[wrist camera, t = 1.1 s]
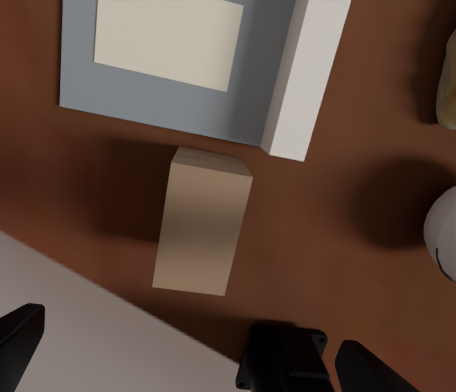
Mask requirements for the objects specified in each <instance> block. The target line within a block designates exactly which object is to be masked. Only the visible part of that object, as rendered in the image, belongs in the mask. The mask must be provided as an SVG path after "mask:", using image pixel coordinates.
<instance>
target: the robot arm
mask: <svg viewBox="0 0 456 392" xmlns="http://www.w3.org/2000/svg"><path fill="white" fill-rule="evenodd" d="M44 324H45V307H44V306H43V305H41V304H32V303H28V304H25V305H23V306H21V307H20V308H18V309H16V310H14V311H12V312H10V313H8V314H6V315H5V316H3V317H1V318H0V392H14V391H15V389H16V387H17V385H18V383H19V382H20V380H21V378H22V375H23V373H24V372H25V370H26V367H27V366H28V364H29V362H30V360H31V358H32V356H33V354H34V352H35V350H36V348H37V345H38V344H39V342H40V340H41V338H42V335H43V333H44ZM255 331H258V332H255ZM320 338H321V339H320ZM327 341H328V338H327V336H326V334H325V333H324V332H321V331H312V330H303V329H294V328H285V327H276V326H267V325H253V326H252V327H251V328H250V331H249V335H248V338H247V342H246V345H245V349H244V352H243V356H242V359H241V363H240V366H239V370H238V373H237V376H236V381H235V382H236V387H237V388H238V389H245V390H251V392H335V390H334V388H333V386H332V384H331V382H330V379H329V378H330V375H329V373H328V371H327V369H326V366H325V364H324V362H323V360H322V358H321V356H322V354H323V351H324V349H325V346H326V344H327ZM335 368H336V372H337V375H338V379H339V382H340V386H341V390H342V392H420V391H419V390H417V389H416V388H415V387H414V386H412V385H411V384H410V383H409V382H407V381H406V380H405V379H404V378H402V377H401V376H400V375H399V374H398V373H396V372H395V371H394V370H393V369H391V368H390V367H389V366H388V365H386V364H385V363H384V362H383V361H381V360H380V359H379V358H378V357H376V356H375V355H374V354H373V353H371V352H370V351H369V350H368V349H367V348H365V347H364V346H363V345H362V344H360V343H359V342H357V341H354V340H344V341H343V342H342V344H341V346H340V349H339V351H338V354H337V356H336V359H335Z"/></svg>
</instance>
